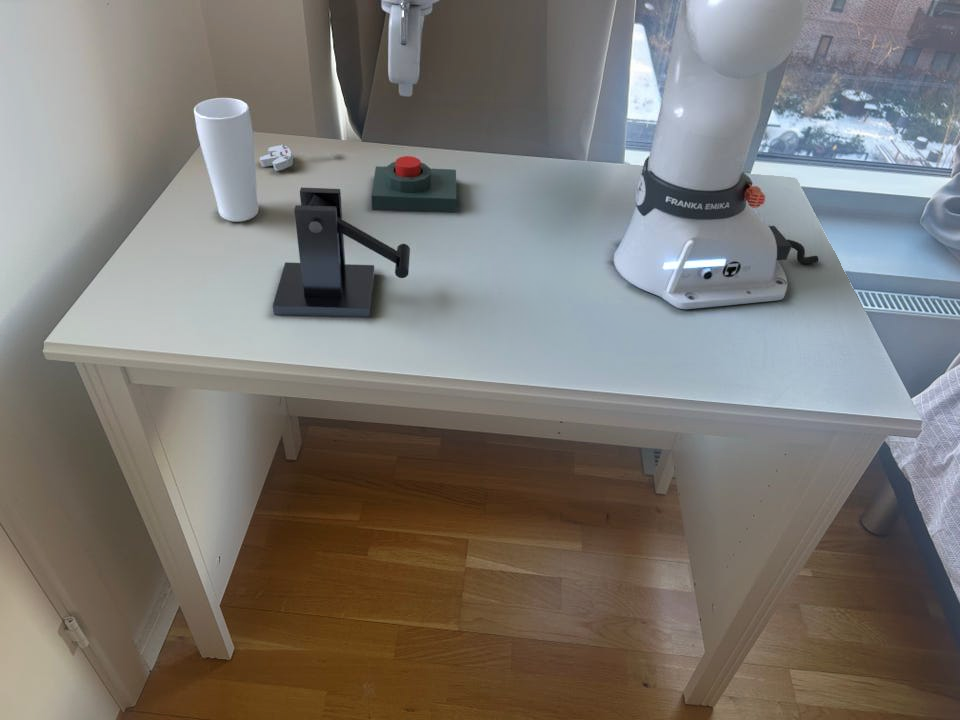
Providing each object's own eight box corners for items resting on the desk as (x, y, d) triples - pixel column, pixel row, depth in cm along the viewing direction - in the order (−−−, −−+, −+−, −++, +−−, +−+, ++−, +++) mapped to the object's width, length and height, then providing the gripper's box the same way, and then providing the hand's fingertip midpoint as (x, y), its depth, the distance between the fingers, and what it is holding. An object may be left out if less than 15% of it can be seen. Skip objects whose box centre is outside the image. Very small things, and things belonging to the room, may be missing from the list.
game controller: (254, 161, 114) (252, 144, 113) (320, 144, 120) (319, 129, 119) (271, 175, 111) (269, 159, 109) (338, 158, 117) (337, 142, 115)
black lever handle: (403, 259, 90) (414, 245, 89) (401, 282, 86) (413, 268, 85) (305, 203, 85) (315, 188, 83) (299, 226, 81) (309, 210, 80)
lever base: (374, 273, 94) (371, 181, 85) (369, 317, 87) (364, 221, 78) (286, 270, 93) (273, 177, 84) (273, 314, 86) (259, 217, 78)
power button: (420, 167, 108) (421, 156, 107) (420, 179, 106) (420, 168, 105) (396, 166, 108) (396, 155, 107) (395, 178, 105) (394, 167, 104)
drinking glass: (252, 229, 100) (234, 122, 90) (204, 221, 100) (182, 114, 90) (272, 205, 105) (258, 101, 95) (227, 198, 105) (208, 94, 96)
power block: (455, 182, 113) (456, 158, 111) (455, 212, 106) (457, 187, 104) (376, 179, 112) (375, 154, 110) (371, 209, 106) (370, 184, 103)
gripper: (432, 7, 83) (428, 126, 92) (434, -40, 98) (430, 66, 107) (375, 3, 82) (377, 123, 91) (386, -43, 98) (386, 63, 107)
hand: (406, 92), depth 99 cm, fingers closed
